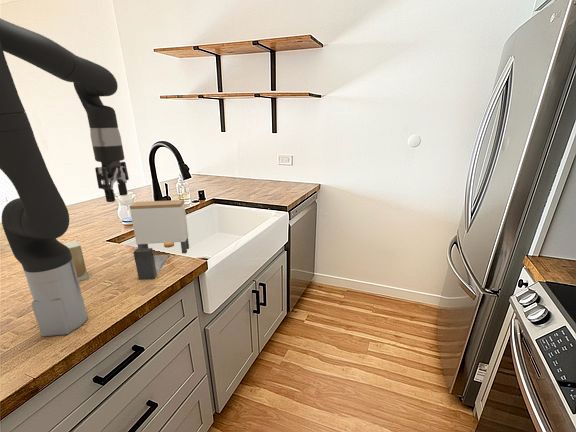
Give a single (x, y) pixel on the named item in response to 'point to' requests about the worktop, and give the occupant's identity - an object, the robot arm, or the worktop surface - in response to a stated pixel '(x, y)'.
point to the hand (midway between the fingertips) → (117, 198)
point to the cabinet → (160, 223)
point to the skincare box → (77, 259)
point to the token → (168, 245)
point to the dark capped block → (148, 263)
